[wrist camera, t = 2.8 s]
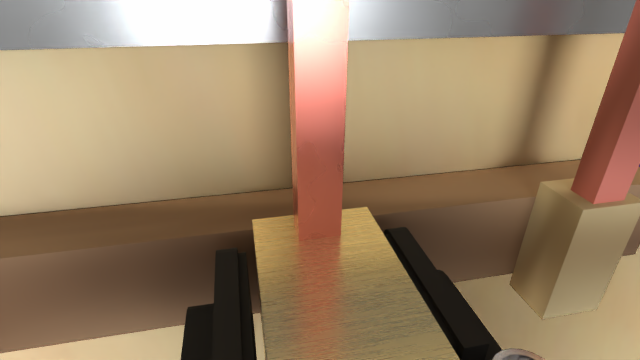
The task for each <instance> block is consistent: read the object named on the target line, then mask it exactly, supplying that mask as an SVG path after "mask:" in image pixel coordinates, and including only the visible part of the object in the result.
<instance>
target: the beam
mask: <svg viewBox="0 0 640 360" xmlns="http://www.w3.org/2000/svg"><path fill="white" fill-rule="evenodd" d="M639 165H640V0H636V3H635V6H634V9H633V11H632V14H631V17H630V20H629V23H628V26H627V29H626V32H625V34H624V37H623V40H622V43H621V46H620V49H619V52H618V55H617V57H616V60H615V63H614V66H613V69H612V72H611V75H610V78H609V80H608V83H607V86H606V89H605V92H604V95H603V98H602V101H601V103H600V106H599V109H598V112H597V115H596V118H595V121H594V124H593V127H592V129H591V132H590V135H589V138H588V141H587V144H586V147H585V150H584V152H583V155H582V158H581V160H573V161H563V162H553V163H543V164H533V165H523V166H513V167H502V168H492V169H482V170H472V171H462V172H452V173H441V174H431V175H421V176H411V177H401V178H391V179H380V180H370V181H360V182H350V183H343V193H342V210H343V209H352V208H361V207H367V208H368V209H369V211H370V213H371V214H372V216H373V218H374V219H375V221H376V222H377V224H378V226H379V227H380V229H381V231H382V232H383V234H384V231H385V230H386V229H390V228H398V227H406V228H407V229H408V230H409V231H410V233H411V234H412V235H413V237H414V238H415V240H416V241H417V242H418V244H419V245H420V247H421V248H422V249H423V251H424V252H425V254H426V255H427V256H428V258H429V259H430V261H431V262H432V263H433V265H434V266H435V268H436V269H437V270H442V271H444V273H445V274H446V275H447V276H448V277H449V279H450V280H451V281H452V283H453V282H459V281H465V280H472V279H478V278H485V277H491V276H497V275H504V274H510V273H513V275H512V278H511V281H510V285H511V286H512V287H513V289H514V290H515V291H516V292H517V293H518V294H519V295H520V296H521V297H522V298H523V299H524V301H525V302H526V303H527V304H528V305H529V306H530V307H531V308H532V309H533V310H534V312H535V313H536V314H537V315H538V316H539V317H540V318H541V319H542V320H544V319H549V318H555V317H560V316H565V315H571V314H576V313H582V312H587V311H593V310H597V308H598V306H599V304H600V302H601V299H602V297H603V295H604V293H605V291H606V288H607V286H608V284H609V282H610V280H611V278H612V275H613V273H614V271H615V269H616V267H617V264H618V262H619V260H620V258H621V256H625V255H632V254H635V253H636V251H637V249H638V246H639V244H640V167H639ZM289 215H293V188H289V189H279V190H269V191H259V192H248V193H238V194H228V195H218V196H208V197H198V198H187V199H177V200H167V201H157V202H147V203H137V204H126V205H116V206H106V207H96V208H86V209H76V210H65V211H55V212H45V213H35V214H25V215H15V216H5V217H0V353H5V352H11V351H17V350H24V349H30V348H37V347H43V346H49V345H56V344H62V343H69V342H75V341H81V340H88V339H94V338H101V337H107V336H113V335H120V334H126V333H133V332H139V331H145V330H152V329H158V328H165V327H171V326H177V325H184V324H185V320H186V312H187V309H188V307H192V306H198V305H205V304H212V303H214V282H215V253H216V250H221V249H229V248H237V249H238V253H242V252H246V256H247V266H248V275H249V285H250V294H251V304H252V313H253V314H254V313H261V311H260V300H259V289H258V279H257V268H256V257H255V246H254V235H253V224H252V220H253V219H262V218H271V217H280V216H289Z"/></svg>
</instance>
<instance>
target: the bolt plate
mask: <svg viewBox="0 0 640 360" xmlns="http://www.w3.org/2000/svg"><path fill="white" fill-rule="evenodd" d="M635 3H636V0H349V27H348V41H351V40H387V39H423V38H459V37H496V36H532V35H568V34H604V33H625V32H626V29H627V26H628V23H629V20H630V17H631V14H632V11H633V9H634V6H635ZM278 42H288V31H287V0H0V50H24V49H61V48H97V47H133V46H169V45H206V44H242V43H278Z"/></svg>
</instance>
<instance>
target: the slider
mask: <svg viewBox="0 0 640 360" xmlns="http://www.w3.org/2000/svg"><path fill="white" fill-rule="evenodd" d="M348 27H349V0H287V31H288V62H289V93H290V124H291V155H292V186H293V215H289V216H280V217H271V218H262V219H253V220H252V224H253V235H254V246H255V257H256V268H257V279H258V289H259V300H260V311H261V322H262V333H263V343H264V353H265V360H460V359H459V357H458V356H457V354H456V352H455V351H454V349H453V347H452V346H451V344H450V342H449V341H448V339H447V338H446V336H445V334H444V333H443V331H442V329H441V328H440V326H439V324H438V323H437V321H436V319H435V318H434V316H433V315H432V313H431V311H430V310H429V308H428V306H427V305H426V303H425V301H424V300H423V298H422V296H421V295H420V293H419V292H418V290H417V288H416V287H415V285H414V283H413V282H412V280H411V278H410V277H409V275H408V273H407V272H406V270H405V269H404V267H403V265H402V264H401V262H400V260H399V259H398V257H397V255H396V254H395V252H394V250H393V249H392V247H391V246H390V244H389V242H388V241H387V239H386V237H385V236H384V234H383V232H382V231H381V229H380V227H379V226H378V224H377V222H376V221H375V219H374V218H373V216H372V214H371V213H370V211H369V209H368V208H367V207H361V208H352V209H343V210H342V193H343V165H344V138H345V110H346V82H347V55H348Z"/></svg>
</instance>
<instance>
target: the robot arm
mask: <svg viewBox="0 0 640 360" xmlns="http://www.w3.org/2000/svg"><path fill="white" fill-rule="evenodd" d="M384 236H385V237H386V239H387V241H388V242H389V244H390V246H391V247H392V249H393V250H394V252H395V254H396V255H397V257H398V259H399V260H400V262H401V264H402V265H403V267H404V269H405V270H406V272H407V273H408V275H409V277H410V278H411V280H412V282H413V283H414V285H415V287H416V288H417V290H418V292H419V293H420V295H421V296H422V298H423V300H424V301H425V303H426V305H427V306H428V308H429V310H430V311H431V313H432V315H433V316H434V318H435V319H436V321H437V323H438V324H439V326H440V328H441V329H442V331H443V333H444V334H445V336H446V338H447V339H448V341H449V342H450V344H451V346H452V347H453V349H454V351H455V352H456V354H457V356H458V357H459V359H460V360H545V359H544V358H542V357H540V356H538V355H536V354H534V353H532V352H529V351H525V350H522V349H512V348H511V349H506V350H502V349H501V348H500V346H499V345H498V344H497V342H496V341H495V340H494V338H493V337H492V336H491V334H490V333H489V331H488V330H487V329H486V327H485V326H484V325H483V323H482V322H481V321H480V319H479V318H478V317H477V315H476V314H475V312H474V311H473V310H472V308H471V307H470V306H469V304H468V303H467V302H466V300H465V299H464V298H463V296H462V295H461V293H460V292H459V291H458V289H457V288H456V287H455V285H454V284H453V283H452V281H451V280H450V279H449V277H448V276H447V275H446V274H445V273H444V271H442V270H437V269H436V268H435V266H434V265H433V263H432V262H431V261H430V259H429V258H428V256H427V255H426V254H425V252H424V251H423V249H422V248H421V247H420V245H419V244H418V242H417V241H416V240H415V238H414V237H413V235H412V234H411V233H410V231H409V230H408V229H407V228H406V227H398V228H390V229H386V230H385V231H384ZM181 360H257V357H256V345H255V333H254V323H253V313H252V304H251V294H250V285H249V275H248V266H247V256H246V252H242V253H238V249H237V248H229V249H221V250H216V253H215V282H214V303H212V304H205V305H198V306H192V307H188V309H187V312H186V320H185V328H184V337H183V346H182V354H181Z"/></svg>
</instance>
